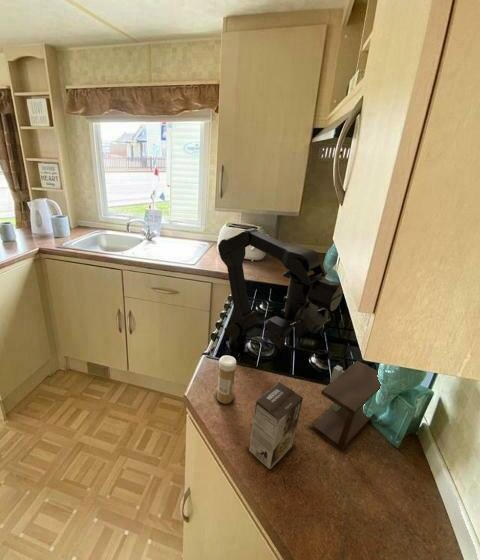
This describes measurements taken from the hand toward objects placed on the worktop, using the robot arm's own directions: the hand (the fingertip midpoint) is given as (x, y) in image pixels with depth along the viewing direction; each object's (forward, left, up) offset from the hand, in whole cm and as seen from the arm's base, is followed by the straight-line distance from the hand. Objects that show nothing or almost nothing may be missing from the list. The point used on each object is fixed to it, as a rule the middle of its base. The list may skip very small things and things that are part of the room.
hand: (289, 342), depth 91 cm
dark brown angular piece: (+18, +10, -13) cm, 24 cm away
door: (+12, +10, -12) cm, 19 cm away
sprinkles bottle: (+6, -20, -13) cm, 25 cm away
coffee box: (+23, -13, -13) cm, 29 cm away
